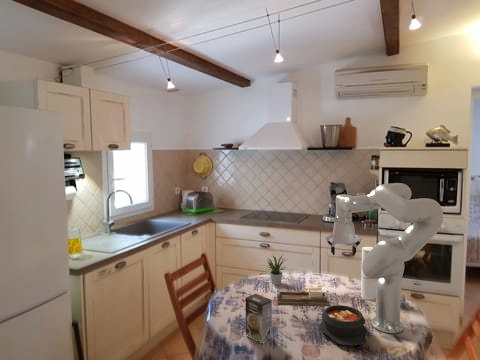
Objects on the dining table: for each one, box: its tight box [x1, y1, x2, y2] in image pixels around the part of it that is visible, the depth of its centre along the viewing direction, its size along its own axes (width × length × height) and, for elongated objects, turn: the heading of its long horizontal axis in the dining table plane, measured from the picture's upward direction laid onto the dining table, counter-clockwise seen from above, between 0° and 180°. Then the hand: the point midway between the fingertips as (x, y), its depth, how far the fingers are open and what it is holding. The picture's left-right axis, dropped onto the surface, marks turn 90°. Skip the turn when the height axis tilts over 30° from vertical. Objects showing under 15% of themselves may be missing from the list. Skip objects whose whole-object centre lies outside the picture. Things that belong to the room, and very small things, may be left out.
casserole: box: [319, 304, 368, 346], centre depth 142 cm, size 25×19×8 cm
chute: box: [276, 288, 329, 307], centre depth 174 cm, size 12×24×4 cm, turn 85°
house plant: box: [266, 254, 288, 286], centre depth 195 cm, size 14×14×16 cm
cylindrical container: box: [360, 246, 377, 301], centre depth 175 cm, size 7×7×25 cm
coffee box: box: [245, 293, 273, 344], centre depth 140 cm, size 9×6×16 cm
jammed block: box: [308, 286, 324, 299], centre depth 173 cm, size 6×6×4 cm
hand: (343, 254), depth 171 cm, fingers open, 9 cm apart
